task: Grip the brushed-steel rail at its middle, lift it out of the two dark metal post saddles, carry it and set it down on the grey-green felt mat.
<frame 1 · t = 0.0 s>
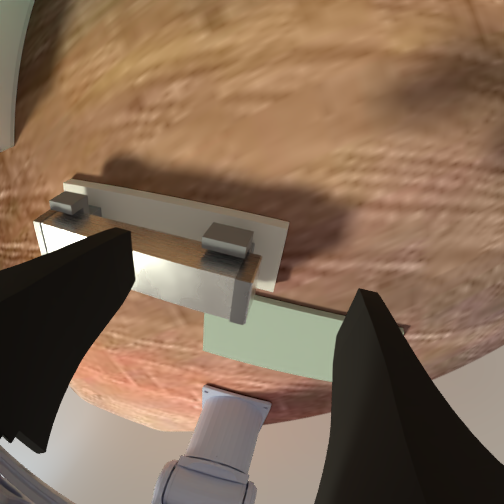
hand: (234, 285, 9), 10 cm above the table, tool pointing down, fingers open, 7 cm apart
rail: (139, 246, 18), point 3 cm above the table, touching standards
standards: (160, 225, 21), on the table
mat: (297, 341, 24), on the table
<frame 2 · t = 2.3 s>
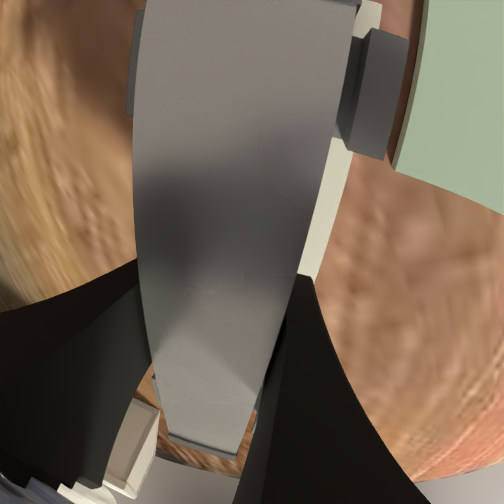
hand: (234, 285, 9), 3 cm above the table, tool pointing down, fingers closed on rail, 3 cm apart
rail: (232, 289, 9), point 3 cm above the table, touching gripper, standards
standards: (254, 240, 11), on the table
butter dish: (93, 398, 27), on the table
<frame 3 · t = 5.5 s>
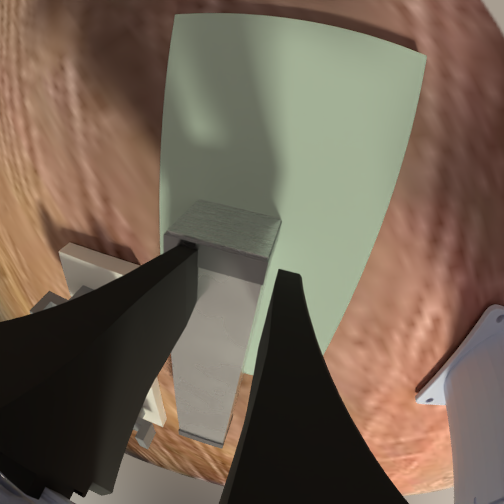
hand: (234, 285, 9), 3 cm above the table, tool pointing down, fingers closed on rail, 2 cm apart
rail: (219, 350, 15), point 1 cm above the table, touching gripper, mat
standards: (125, 356, 19), on the table
mat: (260, 239, 11), on the table
when the fingers open (2 cm above the table, at t = 7.6 s): rail stays where it is, resting on mat.
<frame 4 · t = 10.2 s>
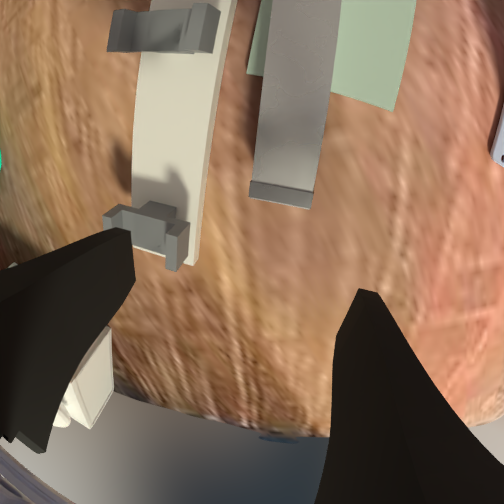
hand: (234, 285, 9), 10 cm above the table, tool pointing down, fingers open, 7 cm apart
rail: (305, 49, 12), point 1 cm above the table, touching mat
standards: (175, 128, 17), on the table
butter dish: (65, 330, 34), on the table
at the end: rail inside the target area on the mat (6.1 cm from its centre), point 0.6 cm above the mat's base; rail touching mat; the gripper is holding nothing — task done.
